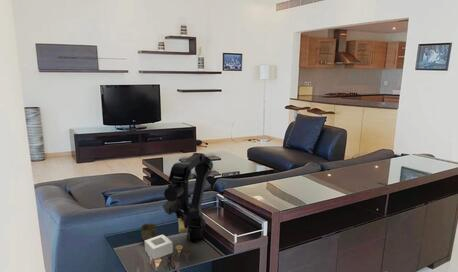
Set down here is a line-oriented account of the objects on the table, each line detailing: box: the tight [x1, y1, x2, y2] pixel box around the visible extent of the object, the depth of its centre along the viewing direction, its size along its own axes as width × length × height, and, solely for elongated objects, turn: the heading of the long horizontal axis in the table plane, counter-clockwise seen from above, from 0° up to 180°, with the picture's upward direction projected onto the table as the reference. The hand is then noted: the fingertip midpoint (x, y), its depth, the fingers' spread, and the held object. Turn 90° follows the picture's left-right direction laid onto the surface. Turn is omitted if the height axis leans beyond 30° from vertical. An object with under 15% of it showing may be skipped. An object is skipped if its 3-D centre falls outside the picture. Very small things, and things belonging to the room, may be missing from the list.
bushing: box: [177, 217, 188, 234], centre depth 145 cm, size 4×4×6 cm
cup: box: [139, 222, 158, 241], centre depth 155 cm, size 8×7×8 cm
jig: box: [143, 234, 174, 260], centre depth 147 cm, size 9×9×5 cm
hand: (183, 226), depth 145 cm, fingers closed on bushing, 4 cm apart
